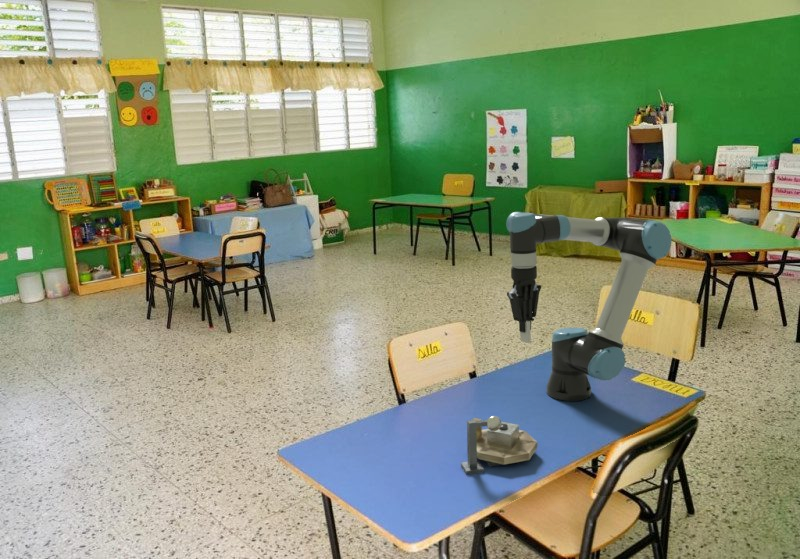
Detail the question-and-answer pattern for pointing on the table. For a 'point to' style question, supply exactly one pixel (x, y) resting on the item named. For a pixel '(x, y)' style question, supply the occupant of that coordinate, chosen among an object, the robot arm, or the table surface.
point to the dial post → (473, 463)
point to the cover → (504, 435)
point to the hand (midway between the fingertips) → (525, 341)
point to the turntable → (505, 448)
